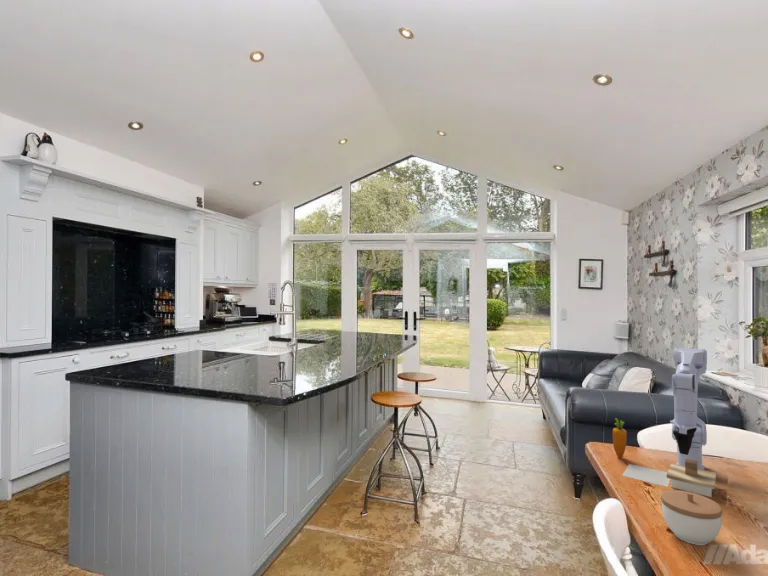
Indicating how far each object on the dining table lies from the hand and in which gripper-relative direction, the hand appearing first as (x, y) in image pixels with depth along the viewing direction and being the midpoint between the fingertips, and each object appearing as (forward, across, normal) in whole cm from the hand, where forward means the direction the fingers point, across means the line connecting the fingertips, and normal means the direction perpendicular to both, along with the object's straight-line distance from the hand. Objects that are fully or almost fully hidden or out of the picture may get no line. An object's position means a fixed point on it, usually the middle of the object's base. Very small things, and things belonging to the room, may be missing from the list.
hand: (685, 451), depth 136 cm
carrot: (+10, -9, -21) cm, 25 cm away
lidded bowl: (+12, +37, +4) cm, 39 cm away
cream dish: (+10, +3, +2) cm, 11 cm away
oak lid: (+7, +3, +2) cm, 8 cm away
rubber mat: (+10, +2, -10) cm, 15 cm away
